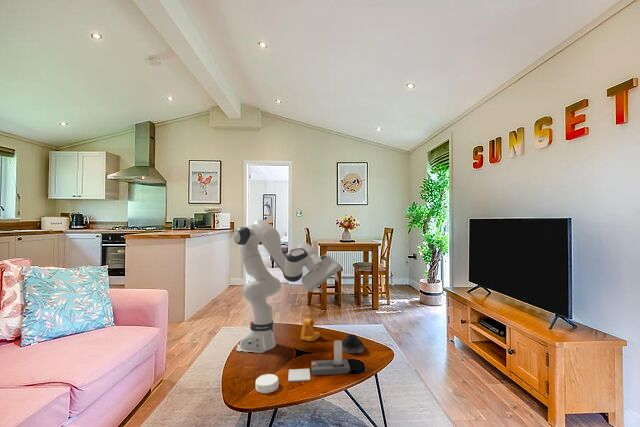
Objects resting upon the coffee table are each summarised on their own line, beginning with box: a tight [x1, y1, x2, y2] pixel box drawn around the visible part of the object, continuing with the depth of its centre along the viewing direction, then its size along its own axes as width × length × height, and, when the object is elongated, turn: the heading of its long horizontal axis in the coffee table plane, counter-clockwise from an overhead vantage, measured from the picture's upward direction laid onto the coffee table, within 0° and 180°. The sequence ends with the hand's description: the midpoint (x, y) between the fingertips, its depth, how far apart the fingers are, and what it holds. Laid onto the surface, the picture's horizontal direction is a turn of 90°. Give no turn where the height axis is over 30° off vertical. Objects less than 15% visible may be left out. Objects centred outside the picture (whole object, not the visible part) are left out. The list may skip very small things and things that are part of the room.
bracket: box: [300, 317, 321, 342], centre depth 180 cm, size 11×7×12 cm, turn 144°
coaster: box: [255, 373, 280, 394], centre depth 127 cm, size 10×10×4 cm
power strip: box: [310, 358, 351, 376], centre depth 141 cm, size 18×9×3 cm, turn 94°
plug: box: [332, 339, 344, 367], centre depth 142 cm, size 6×6×13 cm
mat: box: [287, 368, 311, 383], centre depth 136 cm, size 10×10×1 cm
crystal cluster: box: [342, 333, 365, 354], centre depth 163 cm, size 13×14×10 cm
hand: (329, 286), depth 140 cm, fingers open, 8 cm apart
